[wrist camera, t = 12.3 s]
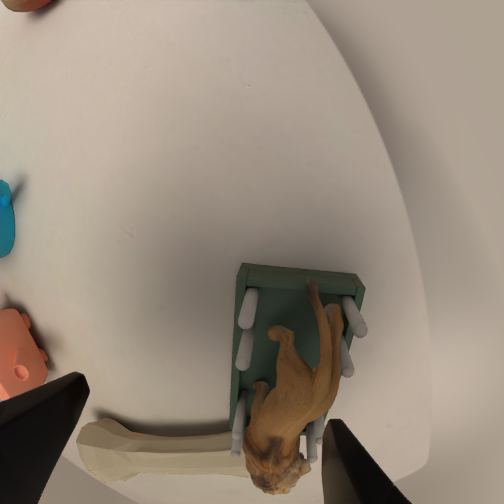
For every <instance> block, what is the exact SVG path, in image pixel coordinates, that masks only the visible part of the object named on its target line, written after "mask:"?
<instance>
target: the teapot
mask: <svg viewBox="0 0 504 504" xmlns="http://www.w3.org/2000/svg"><path fill="white" fill-rule="evenodd" d="M30 327H31V323H30V320H29V318H28V317H27V315H26V314H24V313H22V314H21V315H20V314H19V312H18V311H17V310H15V309H0V399H3V400H7V399H10V398H12V397H15V396H17V395H20V394H22V393H25V392H27V391H29V390H32V389H34V388H37V387H39V386H41V385H42V384H43V383H44V382H45V380H46V378H47V375H48V369H47V367H46V365H45V362H44V361H48V357H47V355H46V353H45V352H44V351H43V350H42V349H41V348H37V346H36V344H35V342H34V340H33V338H32V336H31V334H30V332H29V330H28V329H29V328H30Z"/></svg>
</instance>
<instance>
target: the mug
mask: <svg viewBox="0 0 504 504" xmlns="http://www.w3.org/2000/svg"><path fill="white" fill-rule="evenodd" d="M10 197H11V191H10V188H9V185H8V183H6V182H4V181H3V180H0V258H1V257H4V256H6V255H7V254H8V253H10V251H11V249H12V246H13V242H14V237H15V221H14V213H13V208H12V205H11V201H10Z"/></svg>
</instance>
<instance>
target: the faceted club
mask: <svg viewBox="0 0 504 504" xmlns="http://www.w3.org/2000/svg"><path fill="white" fill-rule="evenodd" d="M244 433H245V432H244ZM76 443H77V447H78V450H79V454H80V457H81V459H82V461H83V463H84V465H85V467H86V468H87V470H88V471H90V472H91V473H92V474H94V475H95V476H97V477H98V478H99V479H101V480H102V481H104V482H105V483H107V482H116V481H118V480H124V481H125V480H127V479H129V478H131V477H133V476H135V475H136V474H138V473H141V472H143V473H156V474H224V475H232V476H241V477H251V476H250V473H249V472H248V471H247V469H246V459H245V454H244V452H243V447H244V445H243V444H242V451H241V455H240V456H239V457H237V458H234V457H232V456H231V448H232V443H233V437H232V431H229V432H224V433H219V434H214V435H204V436H189V437H163V436H156V435H149V434H142V433H136V432H131V431H129V430H128V429H126V428H125V427H123V426H122V425H121V424H119V423H118V422H116V421H115V420H112V419H110V418H107V417H105V418H103V419H101V420H99V421H97V422H92V423H88V424H86V425H85V426H83V427H82V428H81V430H80V433H79V435H78V437H77V440H76Z"/></svg>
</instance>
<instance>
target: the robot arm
mask: <svg viewBox="0 0 504 504" xmlns="http://www.w3.org/2000/svg"><path fill="white" fill-rule="evenodd" d="M89 393H90V389H89V386H88V383H87V380H86V378H85V376H84V374H81V373H79V372H72V373H70V374H68V375H65V376H63V377H61V378H58V379H56V380H53V381H51V382H49V383H46V384H44V385H42V386H39V387H37V388H34V389H32V390H29V391H27V392H25V393H22V394H20V395H17V396H15V397H12V398H10V399H7V400H4V401H2V402H0V504H38V502H39V500H40V497H41V494H42V492H43V490H44V488H45V486H46V483H47V482H48V479H49V477H50V475H51V473H52V471H53V469H54V467H55V465H56V463H57V461H58V459H59V457H60V455H61V453H62V451H63V449H64V447H65V445H66V444H67V442H68V440H69V438H70V436H71V434H72V432H73V430H74V428H75V427H76V425H77V423H78V420H79V418H80V415H81V413H82V411H83V408H84V406H85V403H86V401H87V399H88V396H89ZM322 484H323V495H324V504H412V503H411V502H410V501H409V500H407V498H406V497H405V496H404V495H403V494H402V493H401V492H400V491H399V489H398V488H397V487H396V486H395V485H394V484H393V482H392V481H391V480H390V479H389V478H388V476H387V475H386V474H385V473H384V472H383V470H382V469H381V468H380V467H379V465H378V464H377V463H376V462H375V461H374V459H373V458H372V457H371V456H370V454H369V453H368V452H367V451H366V450H365V448H364V447H363V446H362V445H361V443H360V442H359V441H358V440H357V438H356V437H355V436H354V435H353V433H352V432H351V431H350V430H349V428H348V427H347V426H346V424H345V423H344V422H343V421H342V420H341V419H330V420H329V421H328V423H327V425H326V427H325V430H324V432H323V437H322ZM393 485H394V486H393Z"/></svg>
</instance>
